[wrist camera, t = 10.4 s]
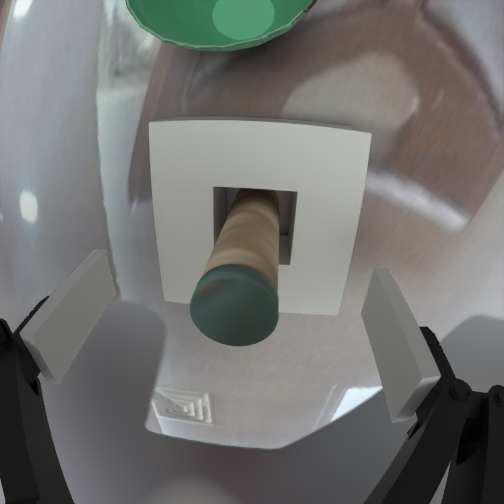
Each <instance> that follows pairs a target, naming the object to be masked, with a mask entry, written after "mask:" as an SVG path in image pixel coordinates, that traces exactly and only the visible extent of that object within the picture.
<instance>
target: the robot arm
mask: <svg viewBox="0 0 504 504" xmlns="http://www.w3.org/2000/svg"><path fill="white" fill-rule="evenodd" d="M115 296H116V290H115V286H114V282H113V277H112V273H111V268H110V264H109V259H108V254H107V250H103V249H94V250H93V251H92V252H91V253H90V254H89V255H88V256H87V257H86V258H85V259H84V260H83V261H82V262H81V263H80V264H79V265H78V266H77V267H76V268H75V269H74V271H73V272H72V273H71V274H70V275H69V276H68V277H67V278H66V279H65V280H64V281H63V282H62V283H61V285H60V286H59V287H58V288H57V289H56V290H55V291H54V292H53V293H52V295H51V296H47V297H46V298H44V299H43V300H41V301H40V302H39V303H38V304H37V305H36V307H35V308H34V310H32V311H31V312H30V314H29V316H27V317H26V319H24V321H23V322H22V323H21V324H20V325H19V327H18V328H17V329H16V330H15V332H14V333H13V334H12V332H11V330H10V328H9V326H8V324H7V322H6V321H5V320H4V319H0V479H1V484H2V488H3V492H4V496H5V501H6V502H5V504H74V502H73V499H72V497H71V494H70V492H69V489H68V486H67V484H66V481H65V478H64V475H63V472H62V469H61V466H60V463H59V460H58V457H57V454H56V450H55V447H54V443H53V440H52V437H51V432H50V428H49V424H48V420H47V416H46V411H45V406H44V401H43V396H42V390H41V385H40V381H39V379H38V377H37V376H38V375H39V373H40V372H41V373H42V375H43V376H44V378H45V379H46V381H49V382H51V383H54V384H57V385H60V383H61V381H62V379H63V378H64V376H65V374H66V372H67V371H68V369H69V367H70V366H71V364H72V362H73V361H74V359H75V357H76V355H77V354H78V352H79V351H80V349H81V348H82V346H83V344H84V343H85V341H86V340H87V338H88V336H89V335H90V333H91V332H92V330H93V329H94V327H95V325H96V324H97V322H98V321H99V319H100V318H101V316H102V315H103V313H104V312H105V310H106V309H107V307H108V306H109V304H110V303H111V301H112V300H113V299H114V297H115ZM361 315H362V318H363V321H364V324H365V328H366V331H367V334H368V337H369V340H370V344H371V347H372V350H373V354H374V357H375V361H376V364H377V368H378V371H379V375H380V378H381V382H382V386H383V389H384V393H385V397H386V401H387V404H388V409H389V413H390V417H391V421H392V422H400V421H407V420H409V419H410V418H411V417H412V416H413V415H414V413H415V412H416V415H417V418H418V420H417V422H416V423H415V424H414V425H413V426H412V427H411V429H410V430H409V431H408V432H407V434H408V437H407V438H406V440H405V442H404V444H403V445H402V447H401V449H400V450H399V452H398V454H397V455H396V457H395V458H394V460H393V462H392V463H391V465H390V467H389V468H388V469H387V471H386V472H385V474H384V475H383V477H382V479H381V480H380V481H379V483H378V484H377V486H376V487H375V488H374V490H373V491H372V493H371V494H370V495H369V497H368V498H367V499H366V501H365V502H364V503H363V504H429V503H430V501H431V500H432V498H433V496H434V494H435V492H436V490H437V488H438V486H439V484H440V482H441V480H442V478H443V476H444V474H445V472H446V469H447V467H448V465H449V463H450V467H449V472H448V477H447V482H446V486H445V490H444V495H443V498H442V503H441V504H504V387H503V386H501V385H495V386H492V387H491V389H490V390H489V391H488V392H487V393H482V392H475V391H472V389H471V388H470V386H469V385H468V384H467V383H466V382H464V381H463V380H460V379H456V377H455V375H454V373H453V371H452V368H451V366H450V364H449V362H448V360H447V358H446V356H445V354H444V353H443V350H442V347H441V346H440V345H439V344H440V343H439V341H438V340H437V338H436V336H435V334H434V333H433V332H432V331H431V330H430V329H429V328H428V327H419V326H418V324H417V322H416V320H415V318H414V316H413V314H412V312H411V310H410V308H409V306H408V304H407V302H406V301H405V299H404V297H403V295H402V293H401V291H400V289H399V287H398V286H397V284H396V282H395V280H394V278H393V277H392V275H391V273H390V271H389V269H378V268H374V270H373V274H372V278H371V281H370V285H369V288H368V292H367V295H366V299H365V302H364V305H363V308H362V312H361ZM450 460H451V462H450Z"/></svg>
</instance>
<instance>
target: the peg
mask: <svg viewBox="0 0 504 504" xmlns="http://www.w3.org/2000/svg"><path fill="white" fill-rule="evenodd" d="M278 264H279V198H278V195H277V193H276V192H275V191H274V190H269V189H254V188H242V189H241V190H240V191H239V192H238V194H237V196H236V199H235V201H234V203H233V205H232V207H231V210H230V212H229V214H228V217H227V219H226V221H225V223H224V226H223V228H222V230H221V233H220V235H219V237H218V239H217V242H216V244H215V246H214V249H213V251H212V253H211V256H210V258H209V260H208V263H207V265H206V268H205V270H204V272H203V275H202V277H201V279H200V280H199V282H198V284H197V286H196V288H195V291H194V293H193V296H192V298H191V301H190V314H191V317H192V320H193V322H194V324H195V325H196V326H197V328H198V329H199V330H200V331H201V332H202V333H203V334H204V335H206V336H207V337H209V338H210V339H212V340H214V341H216V342H219V343H222V344H225V345H230V346H247V345H252V344H256V343H258V342H260V341H262V340H264V339H266V338H267V337H268V336H269V335H270V334H271V333H272V332H273V331H274V329H275V327H276V325H277V322H278V310H279V297H278Z"/></svg>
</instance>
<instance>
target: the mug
mask: <svg viewBox="0 0 504 504" xmlns="http://www.w3.org/2000/svg"><path fill="white" fill-rule="evenodd" d="M316 1H317V0H126V5H127V8H128V10H129V11H130V13H131V14H132V16H133V17H134V19H135V20H136V21H137V23H138V24H139V26H140V27H142V28H143V29H145V30H146V31H148V32H149V33H151V34H152V35H154V36H156V37H157V38H159V39H160V40H162V41H164V42H166V43H169V44H173V45H177V46H181V47H184V48H188V49H191V50H195V51H226V52H229V51H233V50H240V49H245V48H250V47H254V46H259V45H261V44H263V43H265V42H267V41H269V40H271V39H273V38H275V37H277V36H279V35H281V34H283V33H285V32H288V31H289V30H290V29H291V28H292V27H293V26H294V25H295V24H296V23H297V22H298V21H299V20H301V19H302V18H303V17H304V16H305V15H306V14H307V13H308V11H309V10H310V9H311V8H312V6H313V5H314V4H315V3H316Z"/></svg>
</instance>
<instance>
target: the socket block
mask: <svg viewBox="0 0 504 504" xmlns="http://www.w3.org/2000/svg"><path fill="white" fill-rule="evenodd" d="M370 143H371V133H369V132H366V131H363V130H361V129H358V128H355V127H351V126H344V125H337V124H329V123H321V122H311V121H301V120H290V119H276V118H258V117H224V116H202V117H173V118H167V119H162V120H157V121H152V122H149V146H150V168H151V184H152V198H153V210H154V221H155V231H156V240H157V249H158V258H159V265H160V273H161V280H162V287H163V294H164V300H165V301H168V302H176V303H185V304H190V301H191V298H192V296H193V293H194V291H195V288H196V286H197V284H198V282H199V280H200V279H201V277H202V275H203V272H204V270H205V268H206V265H207V263H208V260H209V258H210V256H211V253H212V251H213V249H214V246H215V244H216V242H217V239H218V237H219V235H220V233H221V230H222V228H223V226H224V223H225V216H226V187H236V188H254V189H269V190H283V191H293V193H292V204H291V215H290V225H289V236H288V235H279V264H278V297H279V310H278V312H283V313H298V314H316V315H338V311H339V308H340V304H341V300H342V296H343V292H344V287H345V283H346V279H347V275H348V270H349V266H350V261H351V257H352V252H353V247H354V242H355V237H356V232H357V227H358V222H359V216H360V211H361V205H362V199H363V193H364V186H365V180H366V173H367V166H368V159H369V151H370Z"/></svg>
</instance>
